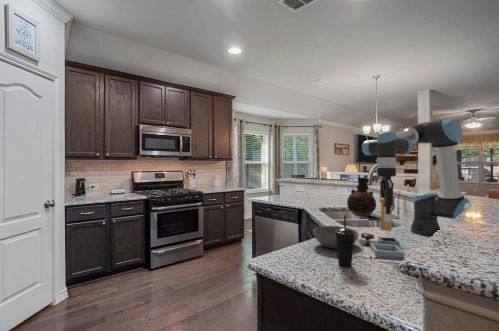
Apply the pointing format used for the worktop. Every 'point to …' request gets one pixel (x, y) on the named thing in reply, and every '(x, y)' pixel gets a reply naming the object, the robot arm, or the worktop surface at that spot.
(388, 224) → the lock pin
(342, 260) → the drinking cup
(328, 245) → the bowl
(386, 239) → the tensioner plate
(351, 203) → the ceramic vessel
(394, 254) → the tray
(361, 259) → the worktop surface
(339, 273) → the worktop surface
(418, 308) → the worktop surface
